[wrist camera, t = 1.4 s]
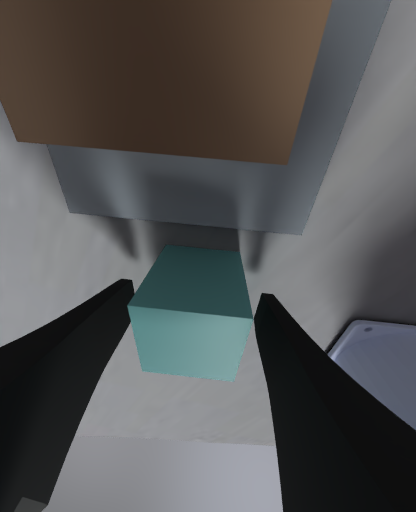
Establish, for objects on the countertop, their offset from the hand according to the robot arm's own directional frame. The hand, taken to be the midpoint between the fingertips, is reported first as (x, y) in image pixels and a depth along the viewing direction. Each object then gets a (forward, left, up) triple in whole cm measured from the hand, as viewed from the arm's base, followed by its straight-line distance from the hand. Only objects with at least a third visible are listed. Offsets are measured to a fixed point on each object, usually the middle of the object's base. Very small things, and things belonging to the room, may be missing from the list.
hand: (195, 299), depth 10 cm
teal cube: (0, 0, -2) cm, 2 cm away
